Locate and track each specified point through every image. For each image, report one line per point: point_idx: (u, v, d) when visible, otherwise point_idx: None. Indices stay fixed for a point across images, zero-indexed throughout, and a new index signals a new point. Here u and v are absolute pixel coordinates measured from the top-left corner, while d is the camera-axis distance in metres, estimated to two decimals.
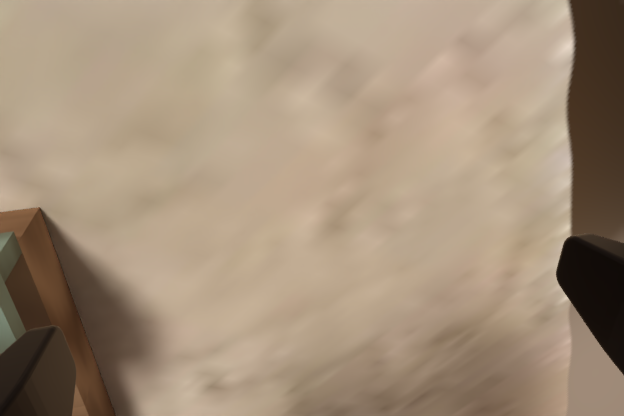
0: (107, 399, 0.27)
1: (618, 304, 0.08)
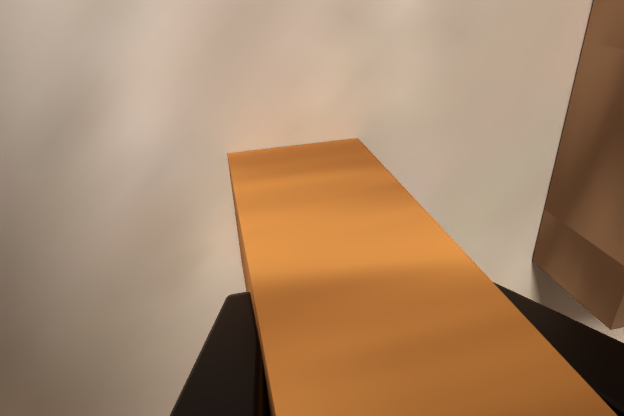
0: None
1: None
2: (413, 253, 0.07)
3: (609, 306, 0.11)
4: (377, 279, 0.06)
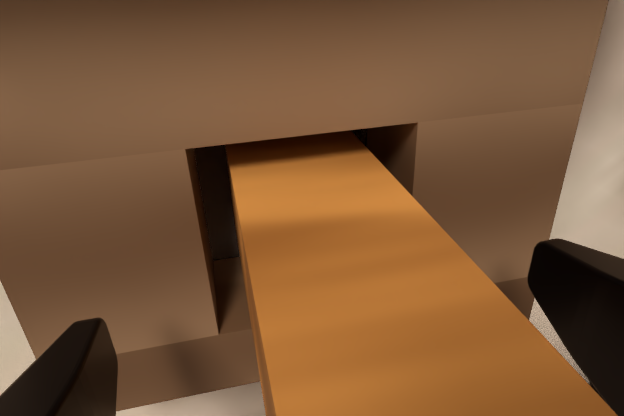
0: None
1: (585, 311, 0.08)
2: (376, 205, 0.08)
3: None
4: (344, 222, 0.07)
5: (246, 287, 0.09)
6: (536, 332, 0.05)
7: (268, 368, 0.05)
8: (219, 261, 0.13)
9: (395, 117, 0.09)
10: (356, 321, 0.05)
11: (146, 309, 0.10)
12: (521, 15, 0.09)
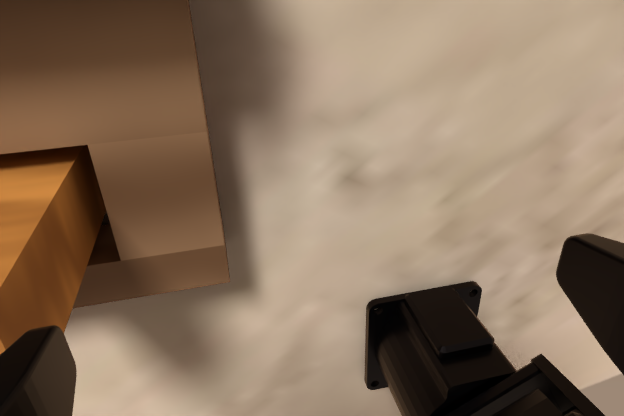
0: None
1: (618, 304, 0.08)
2: (30, 195, 0.13)
3: None
4: None
5: None
6: (18, 253, 0.11)
7: None
8: None
9: (70, 141, 0.15)
10: None
11: None
12: (137, 81, 0.14)
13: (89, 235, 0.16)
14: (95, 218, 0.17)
